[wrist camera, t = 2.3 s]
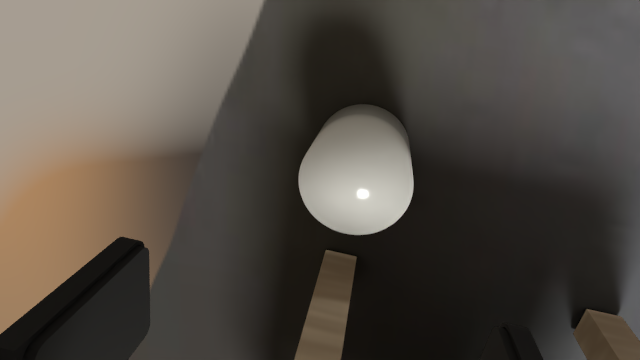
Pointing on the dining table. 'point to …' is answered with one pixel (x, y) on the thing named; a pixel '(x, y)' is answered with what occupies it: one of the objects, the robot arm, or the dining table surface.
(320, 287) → the trapdoor frame
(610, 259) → the dining table surface
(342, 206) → the stone
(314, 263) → the dining table surface
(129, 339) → the robot arm
